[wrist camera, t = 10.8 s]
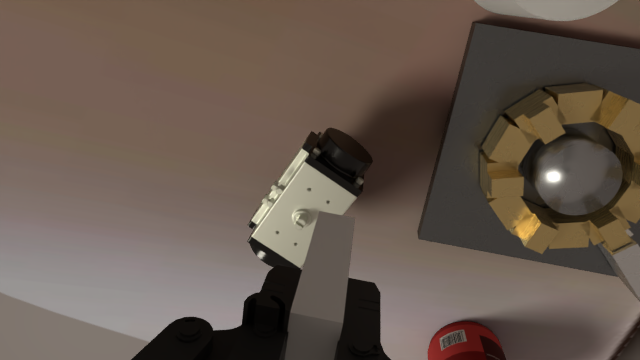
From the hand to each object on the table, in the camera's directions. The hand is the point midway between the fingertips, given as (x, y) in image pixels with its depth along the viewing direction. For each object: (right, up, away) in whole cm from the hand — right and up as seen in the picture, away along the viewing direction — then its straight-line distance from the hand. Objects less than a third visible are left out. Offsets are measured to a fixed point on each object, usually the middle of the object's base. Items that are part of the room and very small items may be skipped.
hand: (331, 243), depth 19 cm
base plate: (+21, +5, +22) cm, 30 cm away
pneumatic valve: (-1, +4, +25) cm, 26 cm away
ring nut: (+22, +2, +21) cm, 30 cm away
